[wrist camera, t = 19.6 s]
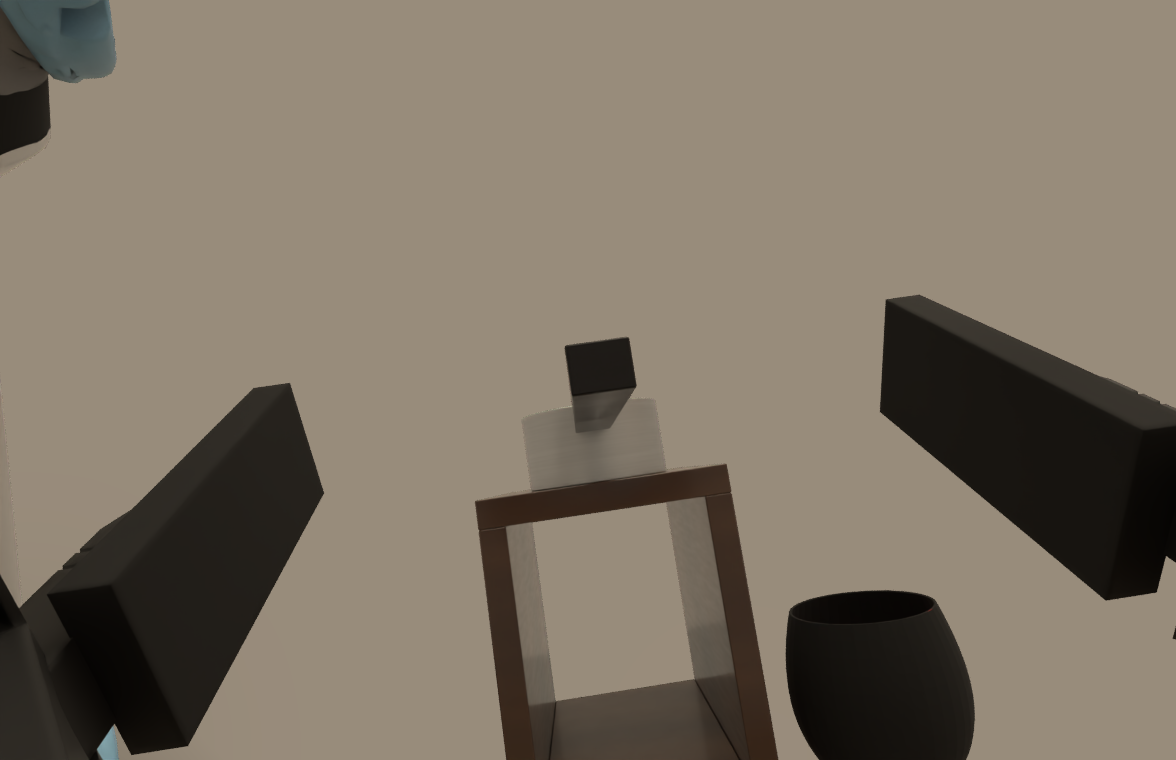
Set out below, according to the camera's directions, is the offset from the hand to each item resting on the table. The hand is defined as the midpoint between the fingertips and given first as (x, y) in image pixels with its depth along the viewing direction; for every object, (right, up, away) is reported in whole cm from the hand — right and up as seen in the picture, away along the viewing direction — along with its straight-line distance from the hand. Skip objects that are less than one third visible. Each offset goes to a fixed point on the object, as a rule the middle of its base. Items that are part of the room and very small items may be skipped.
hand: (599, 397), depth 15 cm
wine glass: (+20, -34, +24) cm, 46 cm away
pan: (0, -5, +18) cm, 19 cm away
